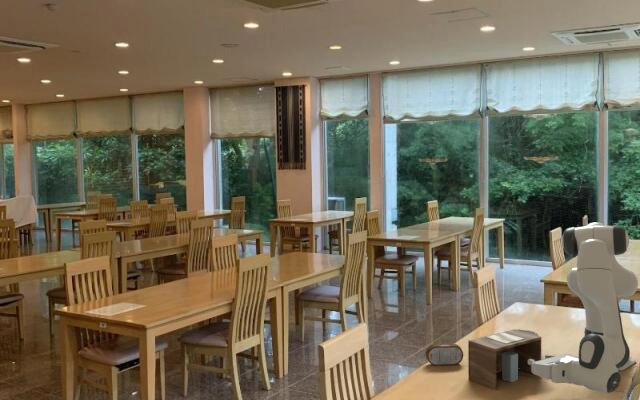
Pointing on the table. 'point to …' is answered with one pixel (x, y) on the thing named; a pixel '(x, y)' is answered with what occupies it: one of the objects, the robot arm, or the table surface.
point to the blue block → (510, 366)
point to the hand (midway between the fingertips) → (537, 359)
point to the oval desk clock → (444, 354)
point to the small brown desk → (500, 354)
